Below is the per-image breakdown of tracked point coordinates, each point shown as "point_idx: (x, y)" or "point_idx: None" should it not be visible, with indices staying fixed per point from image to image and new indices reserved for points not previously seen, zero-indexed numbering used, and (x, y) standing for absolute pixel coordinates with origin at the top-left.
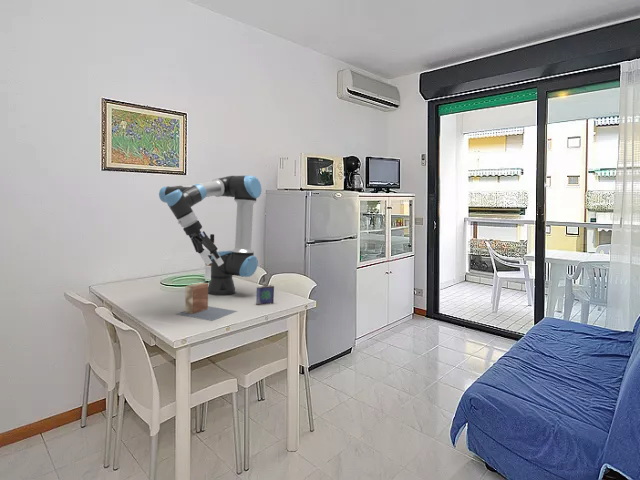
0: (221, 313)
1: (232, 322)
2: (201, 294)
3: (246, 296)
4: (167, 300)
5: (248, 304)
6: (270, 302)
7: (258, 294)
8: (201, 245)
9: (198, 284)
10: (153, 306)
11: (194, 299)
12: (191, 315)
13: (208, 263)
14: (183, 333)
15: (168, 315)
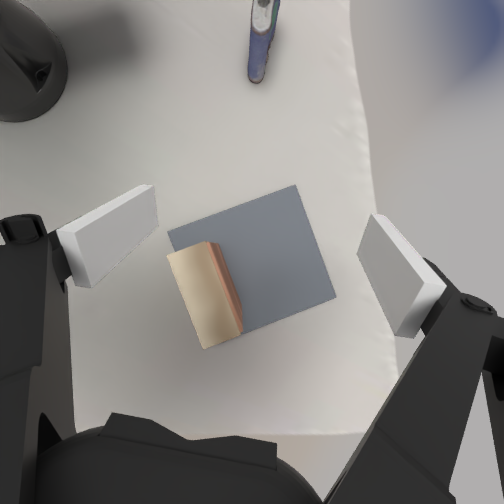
0: (288, 237)
1: None
2: (226, 278)
3: (132, 35)
4: None
5: (235, 102)
6: (272, 34)
7: (264, 53)
8: (51, 310)
9: (203, 287)
10: (72, 355)
11: (240, 310)
12: (253, 316)
13: (153, 216)
14: (373, 395)
15: (201, 360)
